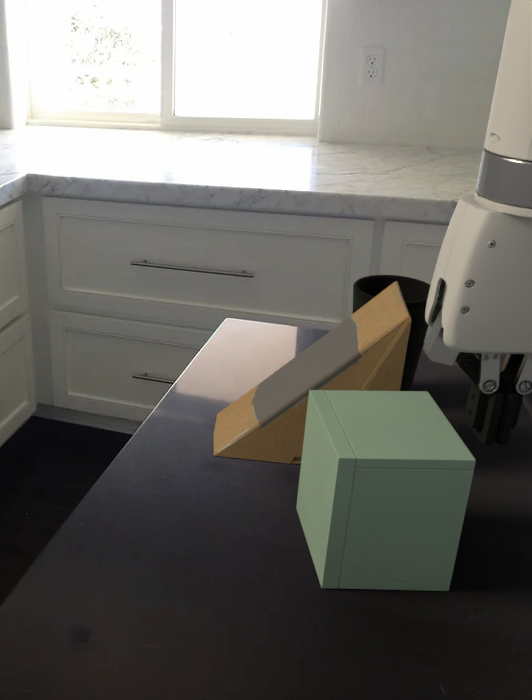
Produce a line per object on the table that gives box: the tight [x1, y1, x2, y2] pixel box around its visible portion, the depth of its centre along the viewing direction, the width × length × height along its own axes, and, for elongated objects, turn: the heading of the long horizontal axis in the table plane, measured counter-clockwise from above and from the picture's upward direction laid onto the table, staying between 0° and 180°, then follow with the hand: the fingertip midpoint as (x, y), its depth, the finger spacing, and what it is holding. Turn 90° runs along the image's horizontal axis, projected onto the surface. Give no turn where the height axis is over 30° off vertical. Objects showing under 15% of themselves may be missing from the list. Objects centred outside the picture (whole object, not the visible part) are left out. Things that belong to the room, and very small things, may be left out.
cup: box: [352, 274, 431, 391], centre depth 86 cm, size 8×8×12 cm
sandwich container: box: [213, 281, 411, 465], centre depth 78 cm, size 9×15×15 cm, turn 78°
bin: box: [295, 390, 477, 592], centre depth 64 cm, size 9×10×11 cm
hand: (487, 434), depth 62 cm, fingers closed
